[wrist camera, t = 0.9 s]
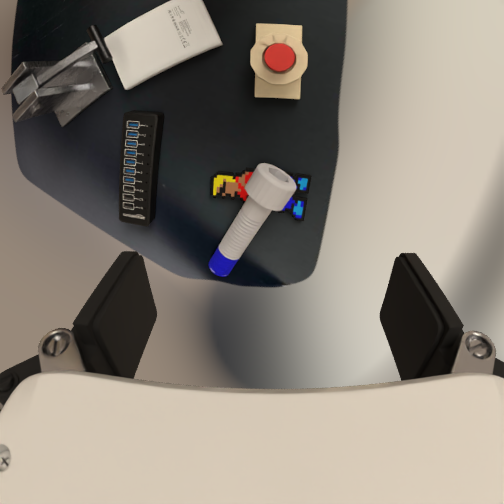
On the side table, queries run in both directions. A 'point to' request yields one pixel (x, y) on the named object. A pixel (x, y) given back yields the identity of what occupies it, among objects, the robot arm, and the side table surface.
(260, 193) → the bolt
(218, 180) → the pixel art figurine
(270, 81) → the control block
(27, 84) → the lever
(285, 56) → the button
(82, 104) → the bracket
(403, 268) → the robot arm
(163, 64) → the hard drive
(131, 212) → the multiport hub
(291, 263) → the side table surface
